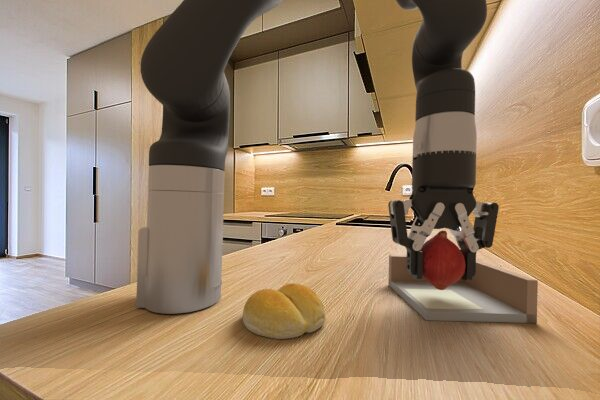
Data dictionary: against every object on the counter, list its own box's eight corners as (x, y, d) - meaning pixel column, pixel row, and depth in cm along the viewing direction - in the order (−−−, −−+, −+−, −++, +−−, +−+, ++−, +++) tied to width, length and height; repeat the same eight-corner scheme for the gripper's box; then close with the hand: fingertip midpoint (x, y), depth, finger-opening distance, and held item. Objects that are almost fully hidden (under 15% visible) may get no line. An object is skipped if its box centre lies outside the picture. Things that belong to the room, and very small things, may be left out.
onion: (421, 294, 33) (423, 231, 33) (411, 281, 39) (413, 227, 39) (472, 299, 32) (474, 234, 32) (454, 285, 38) (456, 229, 38)
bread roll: (233, 317, 31) (234, 282, 31) (299, 304, 35) (300, 274, 35) (259, 352, 24) (260, 308, 24) (338, 330, 28) (339, 293, 28)
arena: (426, 320, 31) (427, 277, 31) (388, 284, 44) (389, 254, 44) (536, 323, 31) (537, 280, 31) (466, 287, 44) (466, 257, 44)
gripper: (477, 159, 39) (474, 272, 39) (381, 156, 39) (378, 269, 39) (519, 149, 32) (516, 289, 32) (400, 146, 32) (397, 286, 32)
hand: (439, 277), depth 35 cm, fingers closed on onion, 6 cm apart
